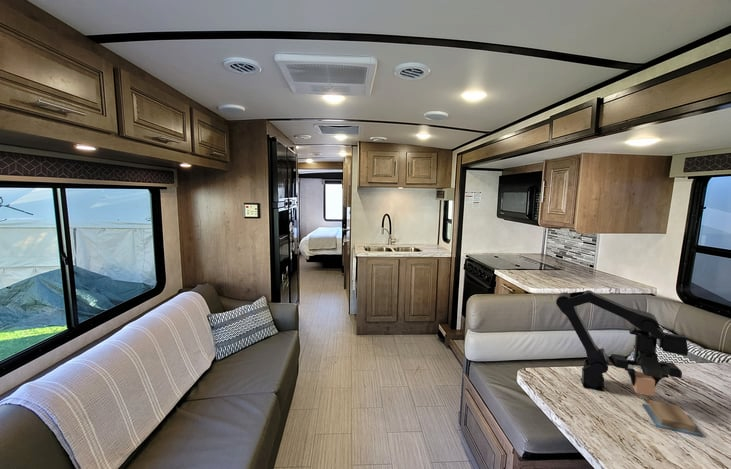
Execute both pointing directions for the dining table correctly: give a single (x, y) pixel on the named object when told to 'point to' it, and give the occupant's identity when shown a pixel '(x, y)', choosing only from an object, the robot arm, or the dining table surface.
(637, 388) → the terracotta cube
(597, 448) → the dining table surface
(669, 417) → the foundation block
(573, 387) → the dining table surface
